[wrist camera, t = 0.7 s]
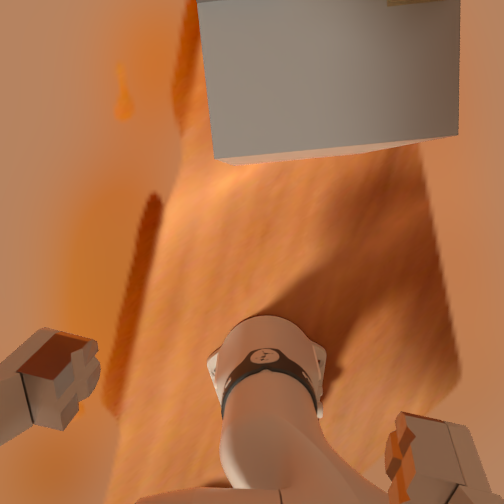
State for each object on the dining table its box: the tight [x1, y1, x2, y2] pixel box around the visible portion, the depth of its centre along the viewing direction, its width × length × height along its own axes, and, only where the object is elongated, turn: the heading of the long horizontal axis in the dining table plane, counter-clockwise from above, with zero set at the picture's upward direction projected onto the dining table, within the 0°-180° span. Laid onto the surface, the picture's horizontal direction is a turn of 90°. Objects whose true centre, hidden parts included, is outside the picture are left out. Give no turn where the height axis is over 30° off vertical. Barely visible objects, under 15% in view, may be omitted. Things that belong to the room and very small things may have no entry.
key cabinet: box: [196, 0, 460, 166], centre depth 38 cm, size 22×18×28 cm
